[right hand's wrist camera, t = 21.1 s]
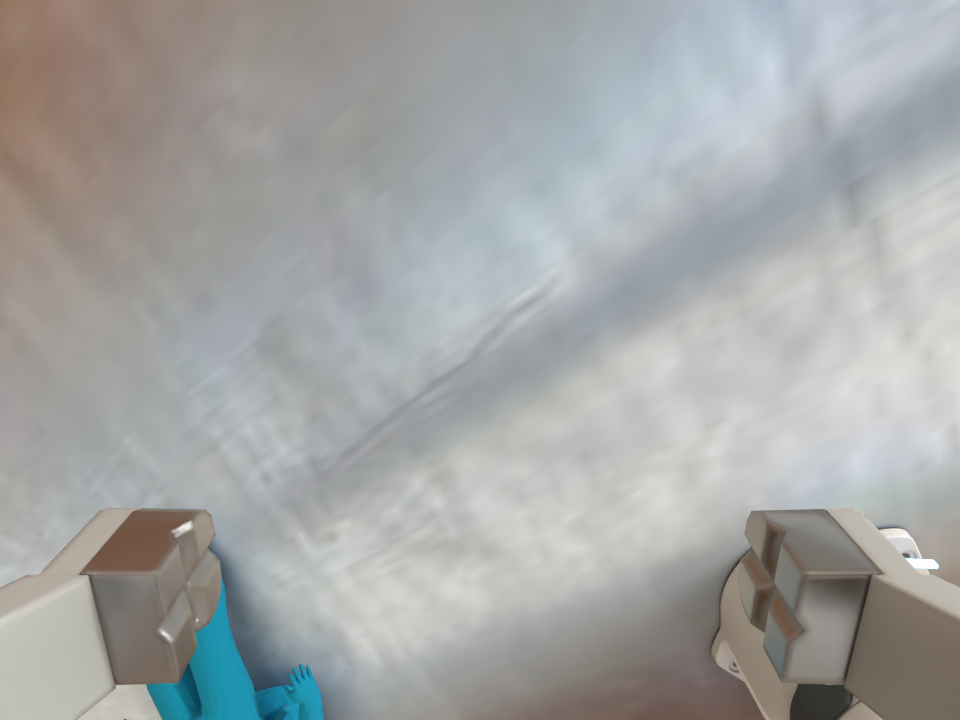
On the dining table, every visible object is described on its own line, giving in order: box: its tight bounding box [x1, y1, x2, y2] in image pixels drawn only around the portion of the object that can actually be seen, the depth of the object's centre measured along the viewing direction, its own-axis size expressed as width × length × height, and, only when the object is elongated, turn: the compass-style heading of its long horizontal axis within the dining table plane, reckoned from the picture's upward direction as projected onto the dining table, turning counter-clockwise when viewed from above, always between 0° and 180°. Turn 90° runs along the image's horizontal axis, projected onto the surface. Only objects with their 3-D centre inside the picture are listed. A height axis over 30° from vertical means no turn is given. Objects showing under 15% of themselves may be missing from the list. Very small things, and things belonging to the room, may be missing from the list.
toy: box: [124, 580, 324, 720], centre depth 55 cm, size 17×11×30 cm
